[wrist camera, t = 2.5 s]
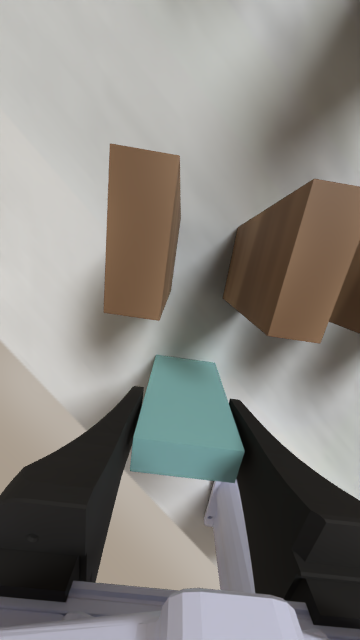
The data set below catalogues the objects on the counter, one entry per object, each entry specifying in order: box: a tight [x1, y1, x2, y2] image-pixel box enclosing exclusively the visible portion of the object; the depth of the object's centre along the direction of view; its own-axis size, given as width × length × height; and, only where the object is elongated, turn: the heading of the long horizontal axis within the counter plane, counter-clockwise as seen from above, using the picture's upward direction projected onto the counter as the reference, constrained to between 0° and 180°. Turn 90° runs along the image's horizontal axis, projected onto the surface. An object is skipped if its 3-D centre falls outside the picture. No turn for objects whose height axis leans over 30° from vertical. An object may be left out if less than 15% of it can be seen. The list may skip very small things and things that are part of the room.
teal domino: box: [130, 355, 245, 483], centre depth 13 cm, size 2×5×8 cm, turn 82°
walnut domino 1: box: [104, 144, 181, 321], centre depth 10 cm, size 2×5×8 cm, turn 171°
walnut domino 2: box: [223, 179, 360, 343], centre depth 10 cm, size 2×5×8 cm, turn 172°
